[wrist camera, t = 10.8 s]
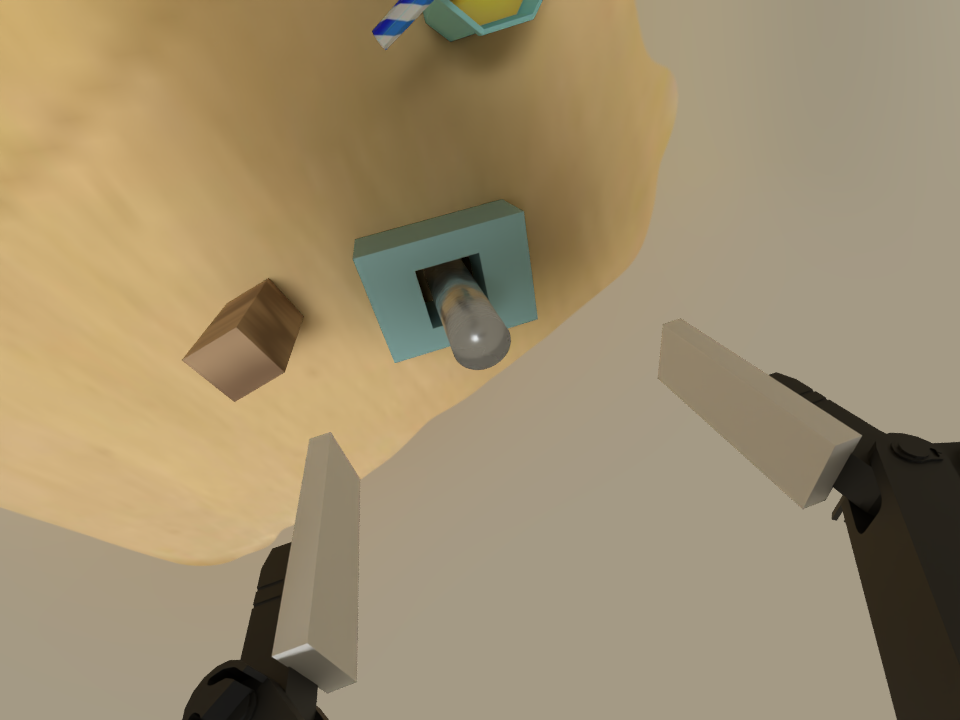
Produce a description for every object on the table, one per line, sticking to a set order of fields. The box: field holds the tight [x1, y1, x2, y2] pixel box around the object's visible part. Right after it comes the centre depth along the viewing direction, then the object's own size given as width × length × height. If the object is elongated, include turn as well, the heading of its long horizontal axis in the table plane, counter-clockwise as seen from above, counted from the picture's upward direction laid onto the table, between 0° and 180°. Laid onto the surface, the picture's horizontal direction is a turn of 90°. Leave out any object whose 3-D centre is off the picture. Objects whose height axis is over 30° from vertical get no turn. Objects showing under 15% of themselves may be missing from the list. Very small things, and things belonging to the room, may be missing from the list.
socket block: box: [353, 199, 538, 363], centre depth 35 cm, size 10×14×6 cm
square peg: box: [182, 278, 304, 402], centre depth 31 cm, size 4×4×10 cm
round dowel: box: [424, 258, 511, 370], centre depth 31 cm, size 4×4×15 cm
